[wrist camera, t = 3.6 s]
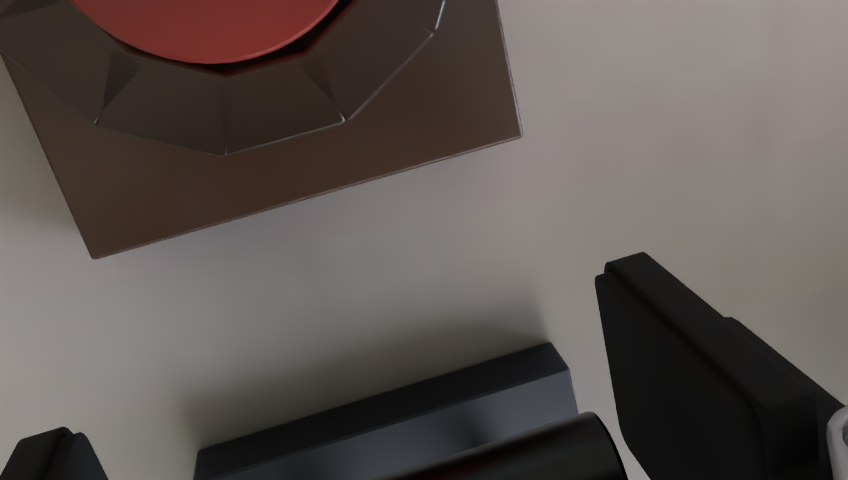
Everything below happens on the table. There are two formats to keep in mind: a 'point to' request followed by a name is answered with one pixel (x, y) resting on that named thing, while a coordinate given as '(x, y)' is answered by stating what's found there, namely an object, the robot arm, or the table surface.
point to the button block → (253, 112)
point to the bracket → (404, 424)
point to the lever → (532, 456)
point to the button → (206, 25)
